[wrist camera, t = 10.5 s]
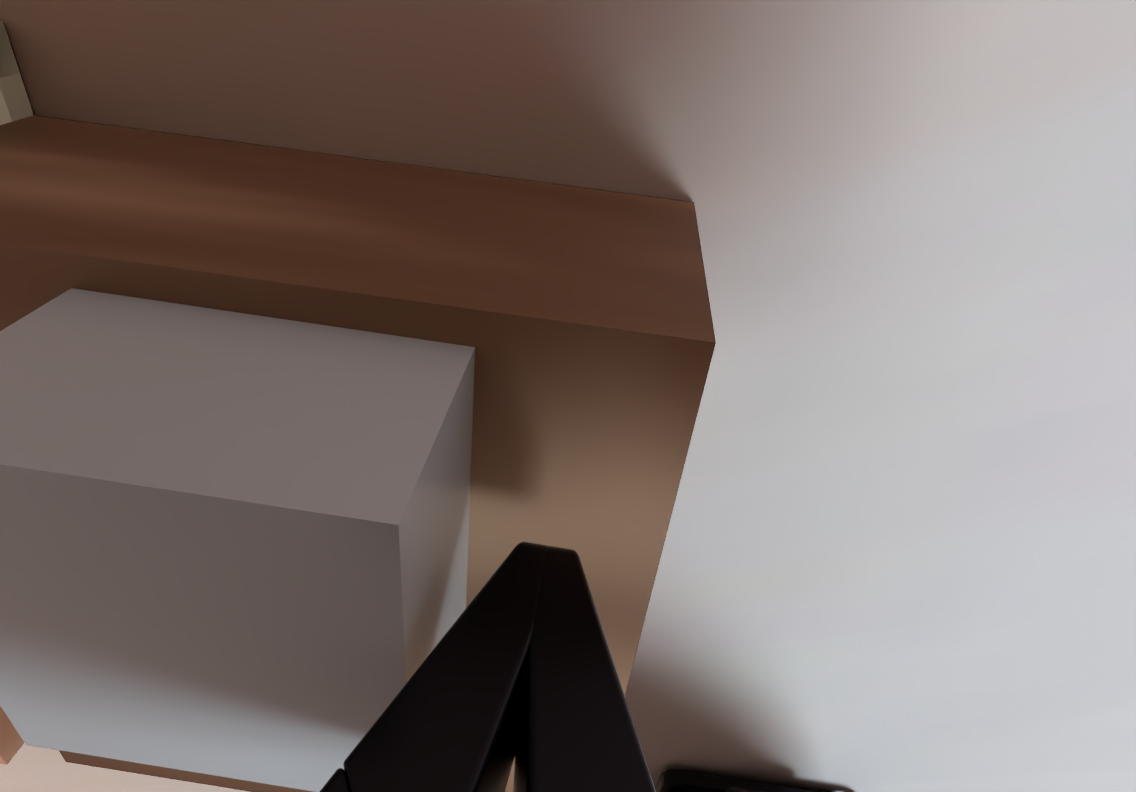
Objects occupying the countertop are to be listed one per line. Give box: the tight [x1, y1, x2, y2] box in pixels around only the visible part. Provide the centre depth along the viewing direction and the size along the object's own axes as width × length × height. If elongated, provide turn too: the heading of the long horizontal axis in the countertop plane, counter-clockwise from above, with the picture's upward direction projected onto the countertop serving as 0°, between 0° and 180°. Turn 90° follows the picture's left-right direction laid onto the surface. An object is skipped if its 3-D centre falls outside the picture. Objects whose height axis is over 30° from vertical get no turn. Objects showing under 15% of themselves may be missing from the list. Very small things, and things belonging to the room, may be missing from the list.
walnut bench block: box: [0, 116, 716, 792], centre depth 14 cm, size 13×12×5 cm
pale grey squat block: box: [0, 288, 475, 792], centre depth 8 cm, size 5×5×3 cm
